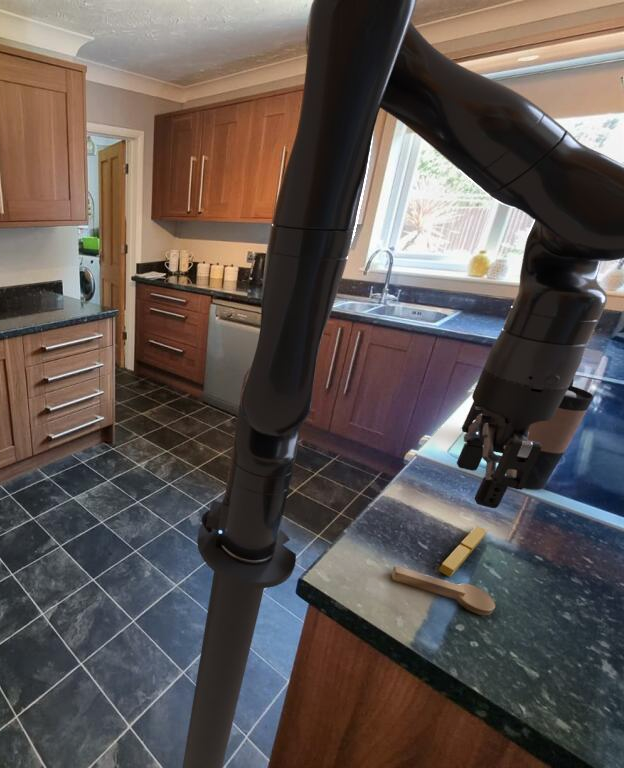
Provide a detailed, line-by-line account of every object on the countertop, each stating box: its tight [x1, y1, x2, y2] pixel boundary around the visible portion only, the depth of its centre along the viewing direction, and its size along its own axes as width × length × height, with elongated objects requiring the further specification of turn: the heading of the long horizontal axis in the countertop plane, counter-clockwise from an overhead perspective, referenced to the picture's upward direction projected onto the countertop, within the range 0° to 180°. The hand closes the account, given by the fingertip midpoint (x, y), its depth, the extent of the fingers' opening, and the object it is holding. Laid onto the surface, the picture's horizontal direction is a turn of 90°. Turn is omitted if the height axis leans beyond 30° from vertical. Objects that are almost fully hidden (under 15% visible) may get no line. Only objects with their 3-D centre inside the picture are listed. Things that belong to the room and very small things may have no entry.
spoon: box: [391, 565, 496, 616], centre depth 61 cm, size 12×4×2 cm, turn 65°
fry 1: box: [438, 543, 471, 578], centre depth 65 cm, size 7×2×2 cm, turn 125°
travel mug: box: [516, 385, 594, 490], centre depth 82 cm, size 8×8×20 cm
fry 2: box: [460, 525, 488, 556], centre depth 69 cm, size 7×2×2 cm, turn 125°
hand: (474, 485), depth 56 cm, fingers open, 8 cm apart
